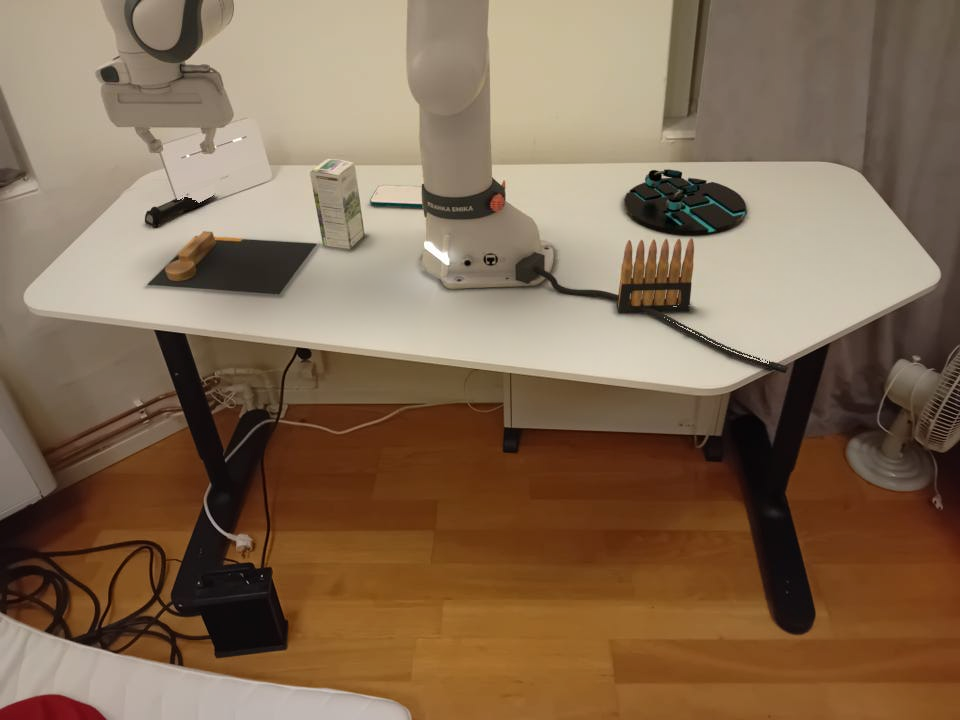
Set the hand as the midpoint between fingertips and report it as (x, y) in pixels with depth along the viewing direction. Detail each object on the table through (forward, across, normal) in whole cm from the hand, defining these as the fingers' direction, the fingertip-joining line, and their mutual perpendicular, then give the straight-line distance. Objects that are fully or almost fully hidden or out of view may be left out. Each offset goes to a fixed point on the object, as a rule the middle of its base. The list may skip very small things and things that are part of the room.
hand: (183, 152), depth 122 cm
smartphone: (+20, -30, -26) cm, 44 cm away
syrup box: (+20, -22, -8) cm, 30 cm away
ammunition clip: (+21, -76, +8) cm, 80 cm away
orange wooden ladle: (+19, +2, +3) cm, 19 cm away
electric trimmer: (+19, +16, -16) cm, 29 cm away
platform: (+21, -82, -27) cm, 89 cm away
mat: (+19, -5, +3) cm, 20 cm away
